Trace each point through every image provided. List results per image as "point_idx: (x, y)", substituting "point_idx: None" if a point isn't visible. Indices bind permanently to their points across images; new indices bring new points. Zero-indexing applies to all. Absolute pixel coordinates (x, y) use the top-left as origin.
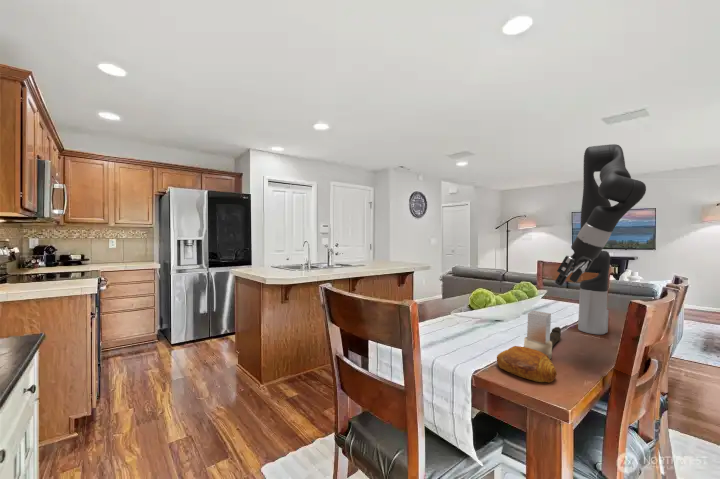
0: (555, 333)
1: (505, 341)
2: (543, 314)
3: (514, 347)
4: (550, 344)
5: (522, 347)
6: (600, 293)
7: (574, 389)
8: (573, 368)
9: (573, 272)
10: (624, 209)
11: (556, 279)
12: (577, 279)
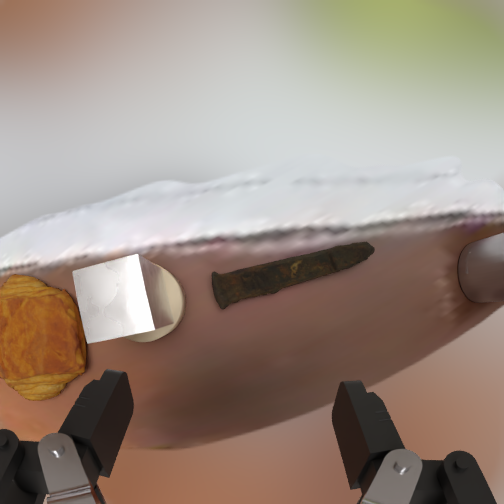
0: (317, 269)
1: (179, 188)
2: (108, 319)
3: (6, 310)
4: (140, 341)
5: (12, 327)
6: None
7: (55, 428)
8: (149, 396)
9: (359, 434)
10: None
11: (98, 384)
12: (340, 441)
